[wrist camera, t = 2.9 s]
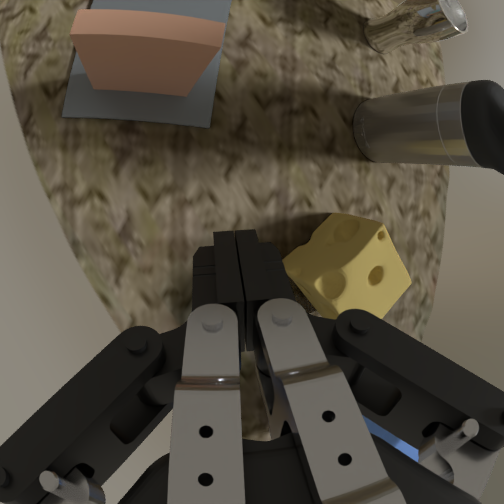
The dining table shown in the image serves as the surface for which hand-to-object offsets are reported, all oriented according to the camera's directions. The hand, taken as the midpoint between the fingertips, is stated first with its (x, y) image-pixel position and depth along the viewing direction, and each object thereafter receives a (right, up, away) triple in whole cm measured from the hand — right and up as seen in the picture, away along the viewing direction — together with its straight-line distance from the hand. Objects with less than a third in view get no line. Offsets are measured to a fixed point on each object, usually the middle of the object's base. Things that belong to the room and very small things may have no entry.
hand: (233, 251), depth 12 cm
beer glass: (+20, +32, +25) cm, 45 cm away
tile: (-11, +17, +16) cm, 26 cm away
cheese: (+10, -1, +30) cm, 31 cm away
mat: (-10, +23, +16) cm, 30 cm away
